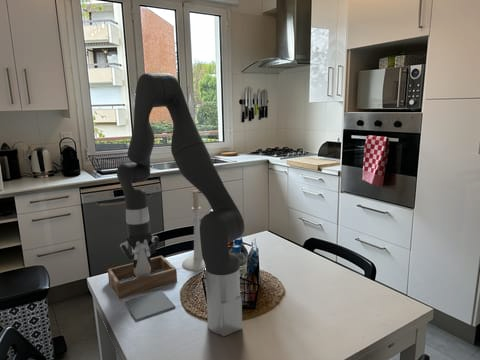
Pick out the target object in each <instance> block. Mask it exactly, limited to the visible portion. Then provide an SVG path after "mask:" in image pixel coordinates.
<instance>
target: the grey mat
mask: <svg viewBox="0 0 480 360" xmlns="http://www.w3.org/2000/svg"><path fill="white" fill-rule="evenodd" d="M124 304H125V305H126V307H127V309H128V310H129V312H130V313H131V315H132V317H133V318H134V320H135V322H139V321H141V320H143V319H148V318H149V317H153V316H156V315H159V314H161V313H164V312H167V311H170V310H174V309H176V305H175V304H174V303H173V302H172V301H171V300H170V298H169V297H168V296H167V294H165V292H164V291H163V290H162V289H160V290H156V291H153V292H150V293H146V294H144V295H139V296H137V297H133V298H130V299H127V300H124Z"/></svg>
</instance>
